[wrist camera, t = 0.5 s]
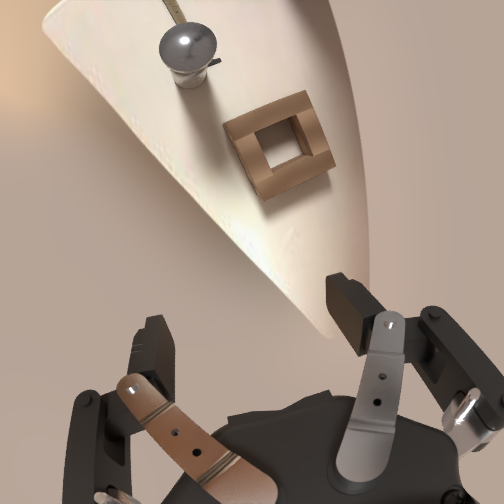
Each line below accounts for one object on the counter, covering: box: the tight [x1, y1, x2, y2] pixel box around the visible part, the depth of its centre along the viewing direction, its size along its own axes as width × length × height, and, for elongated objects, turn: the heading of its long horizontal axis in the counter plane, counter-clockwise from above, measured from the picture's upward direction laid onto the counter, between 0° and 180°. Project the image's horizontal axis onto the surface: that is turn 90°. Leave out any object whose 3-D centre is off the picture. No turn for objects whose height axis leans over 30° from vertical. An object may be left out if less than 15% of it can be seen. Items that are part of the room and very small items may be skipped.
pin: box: [159, 22, 217, 89], centre depth 24 cm, size 5×5×12 cm
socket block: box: [223, 90, 336, 201], centre depth 33 cm, size 10×10×4 cm
